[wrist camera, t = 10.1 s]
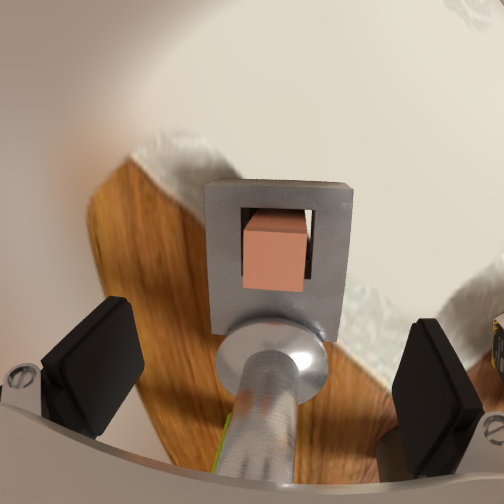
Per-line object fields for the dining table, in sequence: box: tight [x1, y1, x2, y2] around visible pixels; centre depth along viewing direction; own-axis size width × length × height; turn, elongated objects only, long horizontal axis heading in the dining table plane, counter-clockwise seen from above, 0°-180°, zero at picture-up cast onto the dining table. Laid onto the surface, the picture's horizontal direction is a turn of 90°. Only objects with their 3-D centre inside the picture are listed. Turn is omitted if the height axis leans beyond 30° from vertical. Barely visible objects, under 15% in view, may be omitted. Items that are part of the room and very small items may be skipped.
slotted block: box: [204, 179, 354, 484], centre depth 17 cm, size 18×10×22 cm, turn 0°
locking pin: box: [243, 208, 307, 292], centre depth 22 cm, size 4×4×8 cm
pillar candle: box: [376, 427, 414, 483], centre depth 25 cm, size 10×10×15 cm
